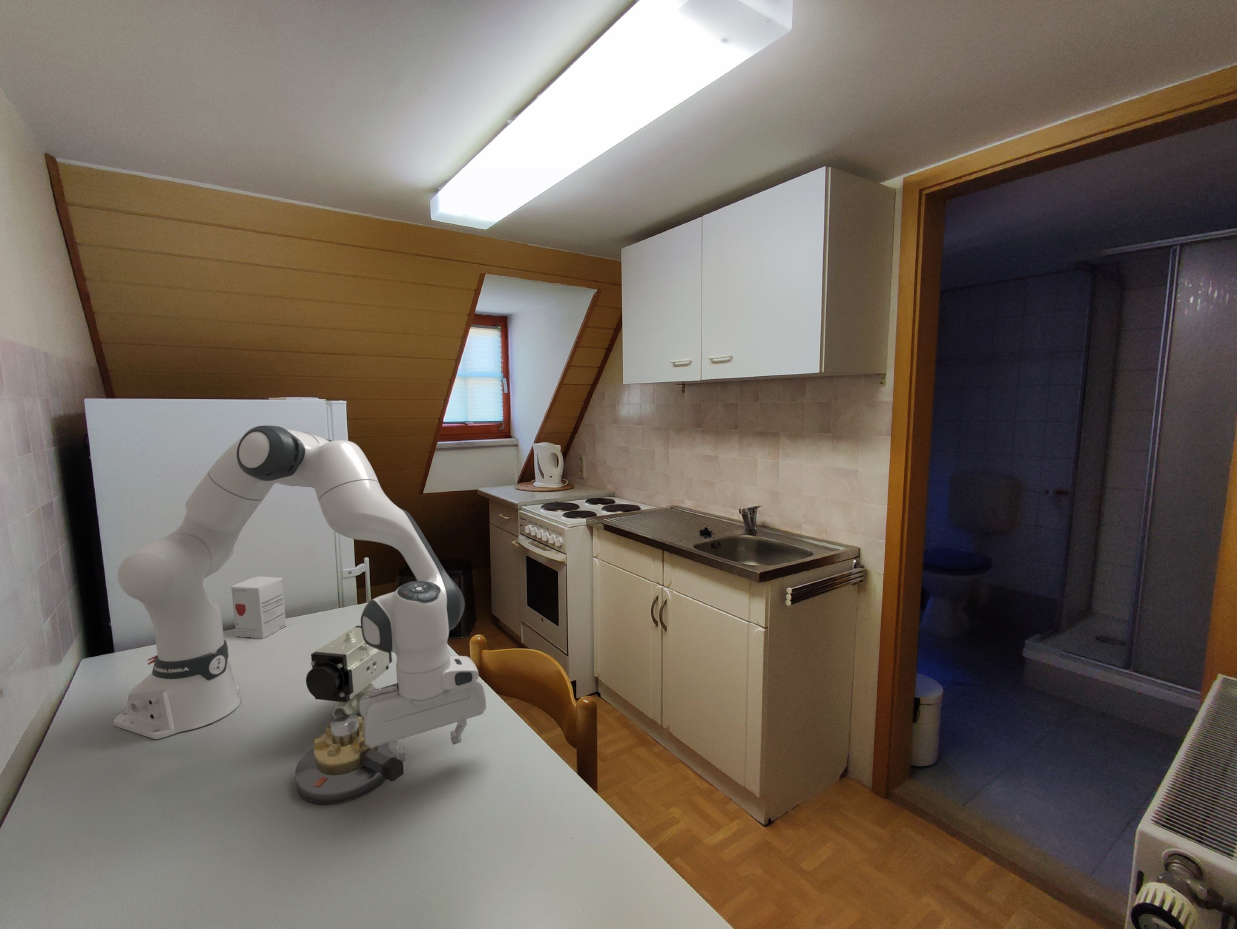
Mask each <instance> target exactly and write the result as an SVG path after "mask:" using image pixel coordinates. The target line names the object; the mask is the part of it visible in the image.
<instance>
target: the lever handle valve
mask: <svg viewBox="0 0 1237 929" xmlns="http://www.w3.org/2000/svg"><path fill="white" fill-rule="evenodd" d="M358 718H359V731H360V735H359V737H357V738H356V739H354V740H353V742H351V743H348V744H344V745H340V744H333V743H332V736H331V723H330V724H327V725H325V727H324V728H325V729H324V730H325V732H324V733H323V734H321V735H320V736H319V737H318V738H314V739H313V740H314V745H313V747H314V757H315V766H316V768H317V769H318V770H319V771H320V772H323V773H327V774H338V773H344V772H348V771H351V770H354V769H356V768H358V767H360V766H362V765H365V766H367V767H369V768H371V769H373V770H375V771H377V772H379V773H381V774H383V777H384V778H386V779H387V780H388V781H390V782H395V781H396V780H397V779H398V778H400V777H401V776H403V775H404V774H405V772H404V761H401V760H399V759H397V758H394V757H393V758H390V757H388V756H386V755H383V754H381V753H379V752H377V750H378V746H377V747H373V748H370V747H369V746H367V745H366V744H365V741H364V735H363V721H364V720H363V717H362V716H361V715H360V716H358Z"/></svg>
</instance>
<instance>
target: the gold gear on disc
mask: <svg viewBox="0 0 1237 929" xmlns="http://www.w3.org/2000/svg"><path fill="white" fill-rule="evenodd" d="M358 717H359V715H355V714H346V715H342V716H340V717H337V718H336V719H334V718H333V720H332V721H331V722H330V724H331V736H332V743H333V744H340V745H344V744H348V743H351V742H353V740H354V739H356V738H357V737H359V735H360V731H359V718H358ZM377 752H379V753H381V754H383V755H386V756H388V757H390V758H393V757H394V758H395V754H394V753H393V752H392V751H391V750H390V749H389V747H388V743H386V744H383V745H380V746H378V750H377ZM294 772H295V774H294V775H295V784H296V792H297V795H298V797H299V798H300V799H302V800H303V801H304V802H306V803H308V804H311V805H316V806H331V805H333V806H334V805H338V804H344V803H346V802H347V803H348V802H351V801H354V800H356V799H359V798H361V797H364V796H365V795H367V794H369V793H371V792H373V791H374V790H376V789H377V788H379V787H380V786H382V785H383V784H384V783H385V782H386V781H387V780H388V779H386V778H384V777H383V774H381V773H379V772H377V771H375V770H373V769H371V768H369V767H367V766H365V765H362V766H360V767H358V768H356V769H354V770H351V771H348V772H344V773H338V774H327V773H323V772H320V771H319V770H318V769H317V768H316V766H315V757H314V746H313V747H311V748H310V749H309V750H308V751H306V753H304V754H303V756H302V757H301V758H300V759H299V761H298V762H297V763H296V767H295V770H294Z"/></svg>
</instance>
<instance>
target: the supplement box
mask: <svg viewBox="0 0 1237 929" xmlns="http://www.w3.org/2000/svg"><path fill="white" fill-rule="evenodd" d="M283 584H284V583H283V577H276V576H275V577H272V576H253V577H252V578H249V579H246V580H244V581H241V582H238V583H236V584H234V585H231V586H230V589H231V596H232V608H233V617H234V624H235V625H234V626H235V636H240V637H239V638H245V637H251V638H250V639H259V638H262V640H263V638H264V639H266V638H268V637H269V636H271V635H273V634H275V633H277V632H278V631H280V630H282V629H284V628H286V627H287V619H286V608H285V607H286V606H285V598H284V597H285V595H284V585H283ZM285 626H286V627H285ZM283 627H284V628H283ZM281 628H282V629H281ZM276 631H277V632H276ZM274 632H275V633H274ZM272 633H273V634H272ZM267 636H268V637H267ZM265 637H266V638H265Z"/></svg>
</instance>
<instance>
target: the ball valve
mask: <svg viewBox="0 0 1237 929" xmlns="http://www.w3.org/2000/svg"><path fill="white" fill-rule="evenodd" d="M392 657H393V656H392V652H390V653H387V652H383V651H380V650H378V649H375V648H373V647H371V646H369V645H368V644H367V643H366V642H365V641H364V639H363V635H362V630H361V625H356V626H354V627H352V628H351V629H349V630H347V631H346V632H343V634H341V635H340V636H338V637H336V638H335V639H333V640H331V641H330V642H328V643H327V644H325V645H324V646H322V647H320V648H318V649H316V651H314V652H312V653H311V654H310V659H311V662H310V665H311V669H310V670H309V671H308V672H307V673H306V677H305V685H306V687H307V690H308V692H309V694H311V695H312V696H313V698H314V699H315V700H321V701H328V702H330V701H331V702H336V704H335V706H334V708H333V709H332V712H331V715H332V716H333V720H334V719H336V718H337V717H340V716H342V715H346V714H355V715H357V716H361V714H360V709H359V702H360V700H361V698H362V697H363V696H364V695H366V694H368V692H369V691H370V690H373V689H377V688H376V686H375V685H374V684H373V682H374V681H375V680H376V679H377V678H379V677H380V676H381V675H383V674H384V673H385V672H386V671H387V670H389V667H390V666H389V665H390V664H392V663H393V658H392ZM367 697H369V696H367Z"/></svg>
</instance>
